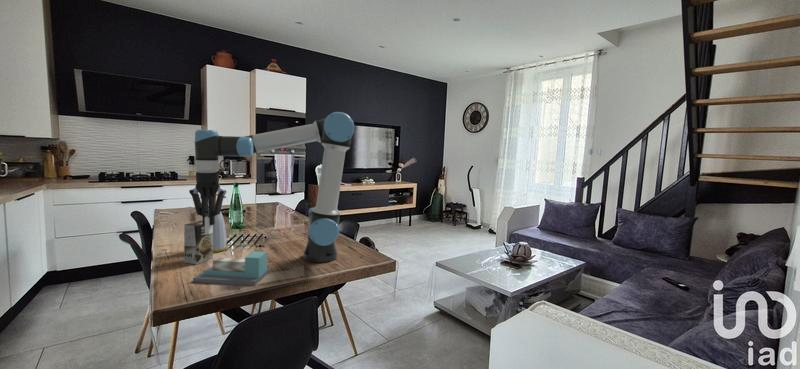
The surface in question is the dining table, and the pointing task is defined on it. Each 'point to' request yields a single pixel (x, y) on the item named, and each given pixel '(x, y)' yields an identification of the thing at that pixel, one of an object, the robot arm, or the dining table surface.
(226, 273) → the light blue stand
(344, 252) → the dining table surface
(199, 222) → the coffee box
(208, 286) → the dining table surface
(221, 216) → the soap bottle
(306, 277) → the dining table surface
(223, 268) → the clear long block
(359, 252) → the dining table surface
